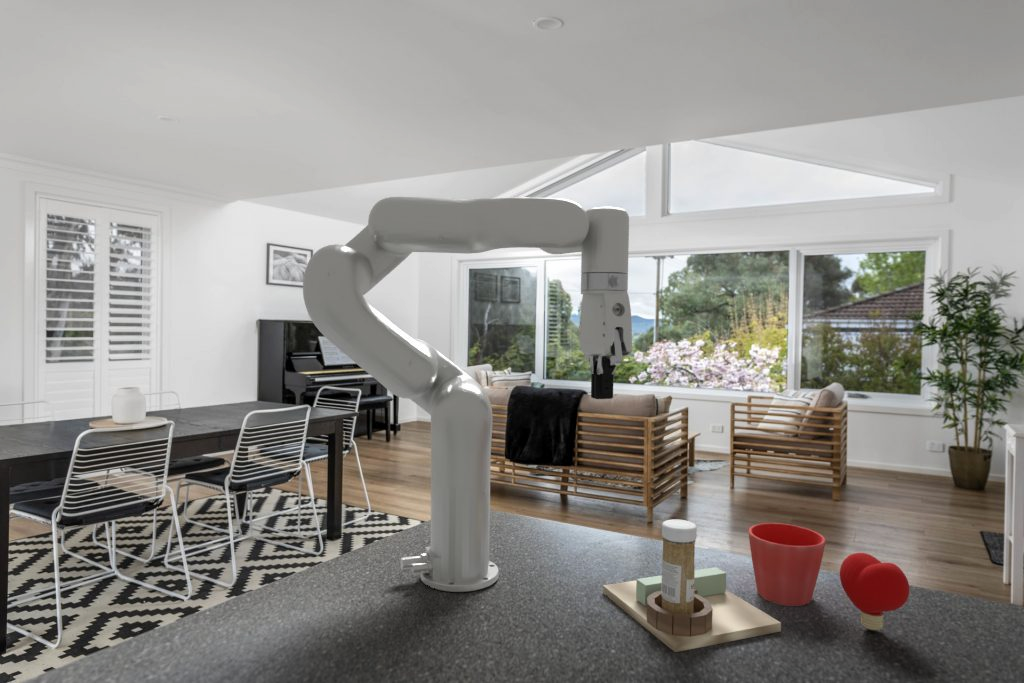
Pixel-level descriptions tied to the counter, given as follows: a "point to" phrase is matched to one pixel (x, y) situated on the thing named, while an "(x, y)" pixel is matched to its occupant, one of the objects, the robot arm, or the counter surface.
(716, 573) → the bar
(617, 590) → the board
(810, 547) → the flower pot
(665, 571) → the sprinkles bottle
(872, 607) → the red heart figurine
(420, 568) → the robot arm
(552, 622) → the counter surface
